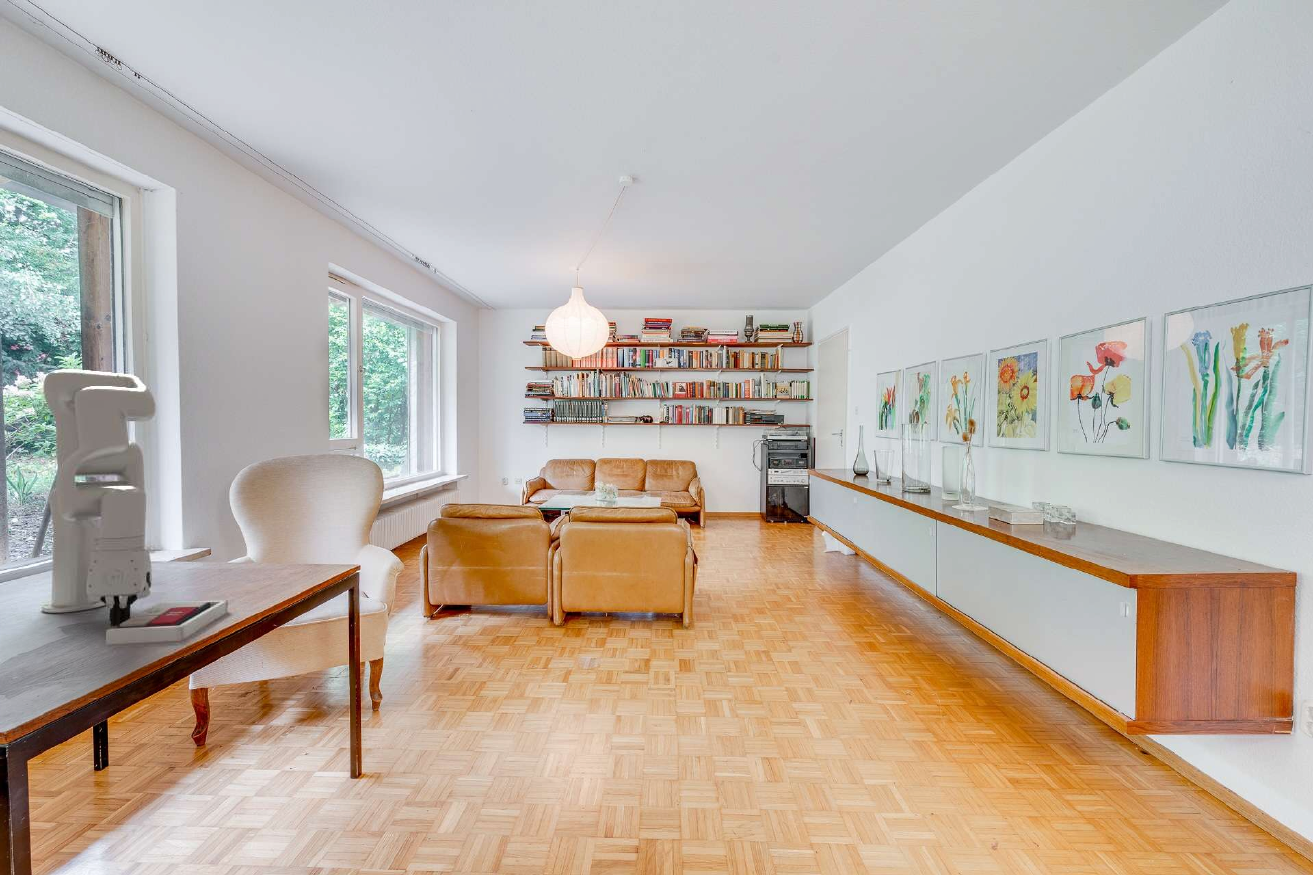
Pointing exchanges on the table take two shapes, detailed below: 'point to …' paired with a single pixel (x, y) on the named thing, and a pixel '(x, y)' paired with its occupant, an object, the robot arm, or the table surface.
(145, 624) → the calculator
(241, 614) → the table surface
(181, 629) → the white u-shaped fence
